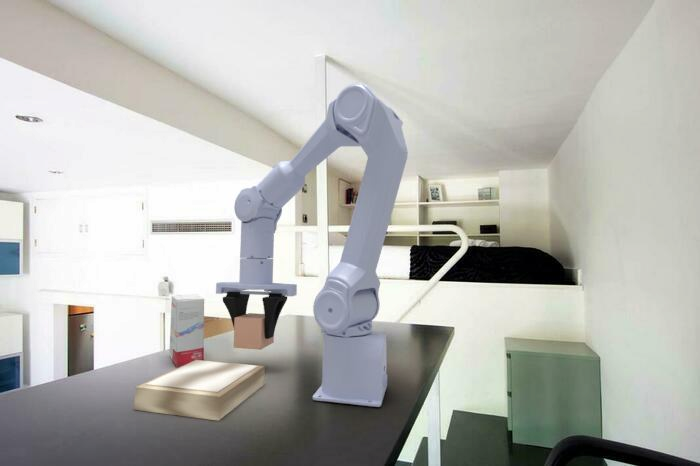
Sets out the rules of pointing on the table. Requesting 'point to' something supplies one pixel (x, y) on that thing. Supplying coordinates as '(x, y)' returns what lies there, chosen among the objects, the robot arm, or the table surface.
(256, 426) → the table surface
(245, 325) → the terracotta cube
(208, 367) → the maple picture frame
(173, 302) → the ink box
